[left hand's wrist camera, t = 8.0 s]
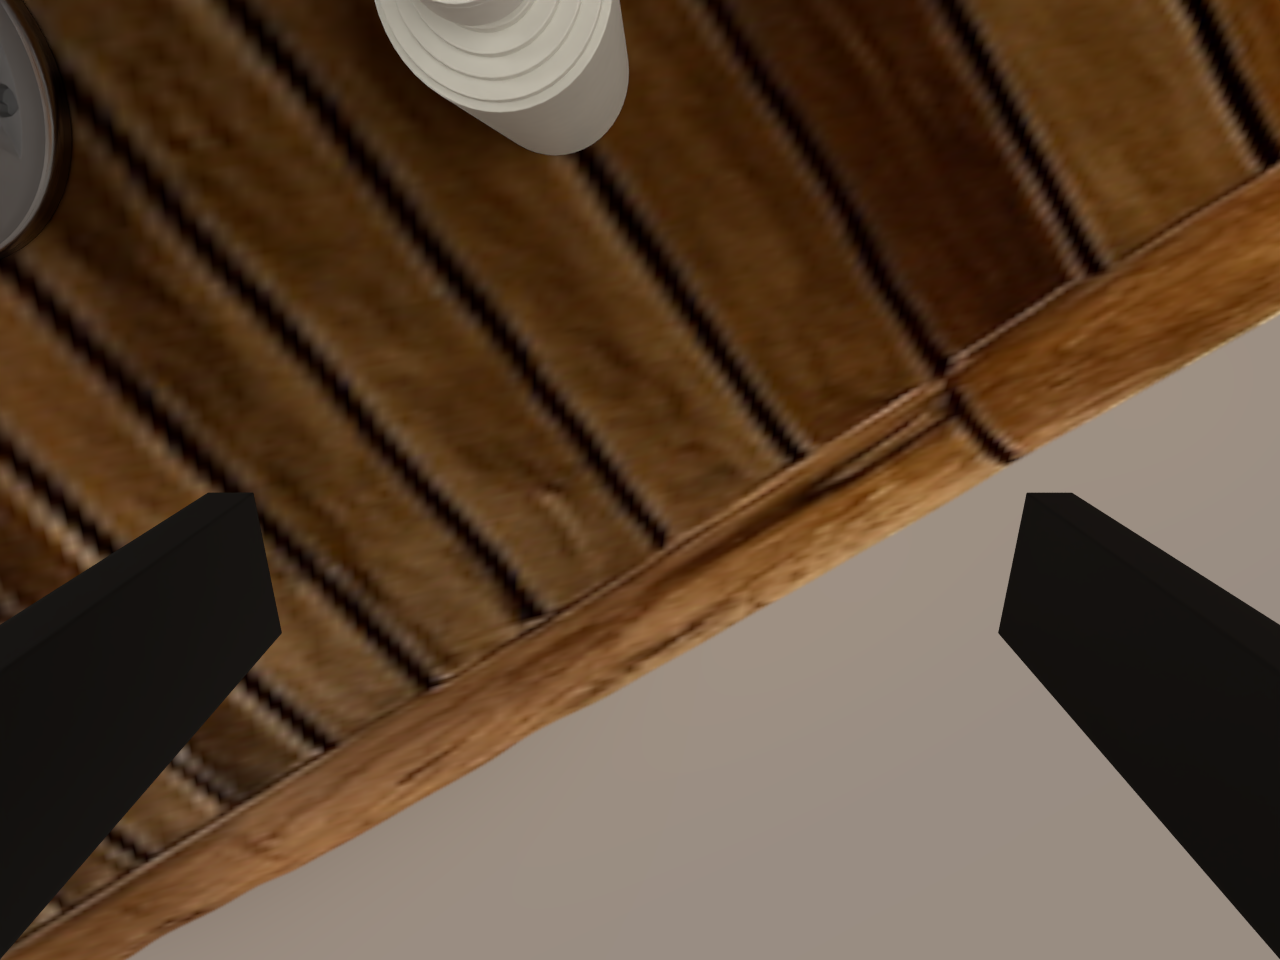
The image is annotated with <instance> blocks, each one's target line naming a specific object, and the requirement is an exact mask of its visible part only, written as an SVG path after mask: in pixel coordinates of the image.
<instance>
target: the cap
mask: <svg viewBox="0 0 1280 960" xmlns="http://www.w3.org/2000/svg"><path fill="white" fill-rule="evenodd" d="M420 1H421V2H422V3H423V4H424V5H425V6H426V7H427V8H428V9H430V10H431V11H432V12H434V13H435V14H436V15H438V16H440V17H442V18H444V19H446V20H448V21H451V22H454V23H457V24H462V25H471V26H476V25H485V24H489V23H493V22H495V21H498V20H500V19H502V18H504V17H506V16H507V15H509V14H510V13H511V12H513V11H514V10H515V9H516V8H517V7H518V6H519V5H520V4H521V3H522V2H523V1H524V0H420Z"/></svg>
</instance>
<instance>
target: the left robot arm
mask: <svg viewBox="0 0 1280 960" xmlns="http://www.w3.org/2000/svg"><path fill="white" fill-rule="evenodd" d="M71 148H72V141H71V123H70V114H69V108H68V103H67V98H66V93H65V90H64V86H63V83H62V79H61V76H60V73H59V70H58V68H57V65H56V62H55V60H54V57H53V55H52V52H51V50H50V48H49V46H48V44H47V42H46V40H45V37H44V36H43V34H42V32H41V30H40V28H39V27H38V25H37V23H36V21H35V20H34V18H33V16H32V15H31V13H30V12H29V10H28V9H27V7H26V6H25V4H24V3H23V1H22V0H0V259H2V258H4V257H6V256H9V255H11V254H13V253H14V252H16V251H18V250H19V249H21V248H23V247H24V246H25V245H27V244H28V243H29V242H30V241H32V240H33V239H34V238H35V237H36V236H37V235H38V234H39V233H40V232H41V231H42V230H43V228H44V227H45V226H46V224H47V223H48V222H49V220H50V219H51V217H52V216H53V214H54V212H55V210H56V209H57V207H58V205H59V202H60V200H61V198H62V195H63V193H64V189H65V186H66V182H67V179H68V174H69V168H70V162H71ZM281 633H282V632H281V627H280V622H279V617H278V612H277V607H276V602H275V597H274V592H273V588H272V583H271V578H270V573H269V568H268V563H267V558H266V553H265V548H264V543H263V538H262V533H261V528H260V524H259V519H258V514H257V509H256V504H255V499H254V494H253V493H207V494H205V495H204V496H202V497H201V498H199V499H198V500H196V501H194V502H193V503H191V504H190V505H188V506H187V507H185V508H183V509H182V510H180V511H179V512H177V513H176V514H174V515H172V516H171V517H169V518H168V519H166V520H164V521H163V522H161V523H160V524H158V525H157V526H155V527H153V528H152V529H150V530H149V531H147V532H146V533H144V534H142V535H141V536H139V537H138V538H136V539H135V540H133V541H131V542H130V543H128V544H127V545H125V546H124V547H122V548H120V549H119V550H117V551H116V552H114V553H113V554H111V555H109V556H108V557H106V558H105V559H103V560H102V561H100V562H98V563H97V564H95V565H94V566H92V567H91V568H89V569H87V570H86V571H84V572H83V573H81V574H80V575H78V576H76V577H75V578H73V579H72V580H70V581H69V582H67V583H65V584H64V585H62V586H61V587H59V588H58V589H56V590H54V591H53V592H51V593H50V594H48V595H47V596H45V597H43V598H42V599H40V600H39V601H37V602H36V603H34V604H32V605H31V606H29V607H28V608H26V609H25V610H23V611H21V612H20V613H18V614H17V615H15V616H14V617H12V618H10V619H9V620H7V621H6V622H4V623H2V624H1V625H0V959H1V957H2V956H3V955H4V954H5V953H6V952H7V951H8V949H9V948H10V947H11V946H12V945H13V944H14V942H15V941H16V940H17V939H18V938H19V937H20V935H21V934H22V933H23V932H24V931H25V930H26V929H27V927H28V926H29V925H30V924H31V923H32V922H33V920H34V919H35V918H36V917H37V916H38V915H39V913H40V912H41V911H42V910H43V909H44V908H45V907H46V905H47V904H48V903H49V902H50V901H51V900H52V898H53V897H54V896H55V895H56V894H57V893H58V891H59V890H60V889H61V888H62V887H63V886H64V885H65V883H66V882H67V881H68V880H69V879H70V878H71V876H72V875H73V874H74V873H75V872H76V871H77V869H78V868H79V867H80V866H81V865H82V864H83V863H84V861H85V860H86V859H87V858H88V857H89V856H90V854H91V853H92V852H93V851H94V850H95V849H96V847H97V846H98V845H99V844H100V843H101V842H102V841H103V839H104V838H105V837H106V836H107V835H108V834H109V832H110V831H111V830H112V829H113V828H114V827H115V825H116V824H117V823H118V822H119V821H120V820H121V819H122V817H123V816H124V815H125V814H126V813H127V812H128V810H129V809H130V808H131V807H132V806H133V805H134V803H135V802H136V801H137V800H138V799H139V798H140V797H141V795H142V794H143V793H144V792H145V791H146V790H147V788H148V787H149V786H150V785H151V784H152V783H153V781H154V780H155V779H156V778H157V777H158V776H159V775H160V773H161V772H162V771H163V770H164V769H165V768H166V766H167V765H168V764H169V763H170V762H171V761H172V759H173V758H174V757H175V756H176V755H177V754H178V753H179V751H180V750H181V749H182V748H183V747H184V746H185V744H186V743H187V742H188V741H189V740H190V739H191V737H192V736H193V735H194V734H195V733H196V732H197V731H198V729H199V728H200V727H201V726H202V725H203V724H204V722H205V721H206V720H207V719H208V718H209V717H210V715H211V714H212V713H213V712H214V711H215V710H216V709H217V707H218V706H219V705H220V704H221V703H222V702H223V700H224V699H225V698H226V697H227V696H228V695H229V693H230V692H231V691H232V690H233V689H234V688H235V687H236V685H237V684H238V683H239V682H240V681H241V680H242V678H243V677H244V676H245V675H246V674H247V673H248V671H249V670H250V669H251V668H252V667H253V666H254V665H255V663H256V662H257V661H258V660H259V659H260V658H261V656H262V655H263V654H264V653H265V652H266V651H267V649H268V648H269V647H270V646H271V645H272V644H273V643H274V641H275V640H276V639H277V638H278V637H279V636H280V634H281ZM998 633H999V634H1000V636H1001V637H1002V638H1003V639H1004V640H1005V641H1006V643H1007V644H1008V645H1009V646H1010V647H1011V648H1012V649H1013V651H1014V652H1015V653H1016V654H1017V655H1018V656H1019V658H1020V659H1021V660H1022V661H1023V662H1024V663H1025V665H1026V666H1027V667H1028V668H1029V669H1030V670H1031V671H1032V673H1033V674H1034V675H1035V676H1036V677H1037V678H1038V680H1039V681H1040V682H1041V683H1042V684H1043V685H1044V687H1045V688H1046V689H1047V690H1048V691H1049V692H1050V693H1051V695H1052V696H1053V697H1054V698H1055V699H1056V700H1057V702H1058V703H1059V704H1060V705H1061V706H1062V707H1063V708H1064V710H1065V711H1066V712H1067V713H1068V714H1069V715H1070V717H1071V718H1072V719H1073V720H1074V721H1075V722H1076V724H1077V725H1078V726H1079V727H1080V728H1081V729H1082V731H1083V732H1084V733H1085V734H1086V735H1087V736H1088V737H1089V739H1090V740H1091V741H1092V742H1093V743H1094V744H1095V746H1096V747H1097V748H1098V749H1099V750H1100V751H1101V753H1102V754H1103V755H1104V756H1105V757H1106V758H1107V759H1108V761H1109V762H1110V763H1111V764H1112V765H1113V766H1114V768H1115V769H1116V770H1117V771H1118V772H1119V773H1120V774H1121V776H1122V777H1123V778H1124V779H1125V780H1126V781H1127V783H1128V784H1129V785H1130V786H1131V787H1132V788H1133V790H1134V791H1135V792H1136V793H1137V794H1138V795H1139V797H1140V798H1141V799H1142V800H1143V801H1144V802H1145V803H1146V805H1147V806H1148V807H1149V808H1150V809H1151V810H1152V812H1153V813H1154V814H1155V815H1156V816H1157V817H1158V819H1159V820H1160V821H1161V822H1162V823H1163V824H1164V825H1165V827H1166V828H1167V829H1168V830H1169V831H1170V832H1171V834H1172V835H1173V836H1174V837H1175V838H1176V839H1177V841H1178V842H1179V843H1180V844H1181V845H1182V846H1183V847H1184V849H1185V850H1186V851H1187V852H1188V853H1189V854H1190V856H1191V857H1192V858H1193V859H1194V860H1195V861H1196V863H1197V864H1198V865H1199V866H1200V867H1201V868H1202V869H1203V871H1204V872H1205V873H1206V874H1207V875H1208V876H1209V878H1210V879H1211V880H1212V881H1213V882H1214V883H1215V885H1216V886H1217V887H1218V888H1219V889H1220V890H1221V891H1222V893H1223V894H1224V895H1225V896H1226V897H1227V898H1228V900H1229V901H1230V902H1231V903H1232V904H1233V905H1234V906H1235V908H1236V909H1237V910H1238V911H1239V912H1240V914H1241V915H1242V916H1243V917H1244V918H1245V919H1246V920H1247V922H1248V923H1249V924H1250V925H1251V926H1252V927H1253V929H1254V930H1255V931H1256V932H1257V933H1258V934H1259V935H1260V937H1261V938H1262V939H1263V940H1264V941H1265V942H1266V944H1267V945H1268V946H1269V947H1270V948H1271V949H1272V950H1273V952H1274V953H1275V954H1276V955H1277V956H1278V958H1279V959H1280V625H1279V624H1277V623H1276V622H1274V621H1273V620H1271V619H1270V618H1268V617H1266V616H1265V615H1263V614H1262V613H1260V612H1259V611H1257V610H1255V609H1254V608H1252V607H1251V606H1249V605H1248V604H1246V603H1244V602H1243V601H1241V600H1240V599H1238V598H1237V597H1235V596H1233V595H1232V594H1230V593H1229V592H1227V591H1226V590H1224V589H1222V588H1221V587H1219V586H1218V585H1216V584H1215V583H1213V582H1211V581H1210V580H1208V579H1207V578H1205V577H1204V576H1202V575H1200V574H1199V573H1197V572H1196V571H1194V570H1193V569H1191V568H1189V567H1188V566H1186V565H1185V564H1183V563H1181V562H1180V561H1178V560H1177V559H1175V558H1174V557H1172V556H1170V555H1169V554H1167V553H1166V552H1164V551H1163V550H1161V549H1160V548H1158V547H1156V546H1155V545H1153V544H1152V543H1150V542H1149V541H1147V540H1145V539H1144V538H1142V537H1141V536H1139V535H1138V534H1136V533H1134V532H1133V531H1131V530H1130V529H1128V528H1127V527H1125V526H1123V525H1122V524H1120V523H1119V522H1117V521H1116V520H1114V519H1112V518H1111V517H1109V516H1108V515H1106V514H1104V513H1103V512H1101V511H1100V510H1098V509H1097V508H1095V507H1093V506H1092V505H1090V504H1089V503H1087V502H1086V501H1084V500H1082V499H1081V498H1079V497H1078V496H1076V495H1075V494H1073V493H1027V494H1026V499H1025V504H1024V509H1023V514H1022V519H1021V524H1020V528H1019V533H1018V538H1017V543H1016V548H1015V553H1014V558H1013V563H1012V568H1011V573H1010V578H1009V583H1008V587H1007V592H1006V598H1005V602H1004V607H1003V612H1002V617H1001V622H1000V627H999V632H998Z"/></svg>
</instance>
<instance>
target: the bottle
mask: <svg viewBox="0 0 1280 960" xmlns="http://www.w3.org/2000/svg"><path fill="white" fill-rule="evenodd" d="M375 4H376V7H377V11H378V14H379V17H380V19H381V22H382V24H383V27H384V29H385V32H386V34H387V36H388V37H389V39H390V41H391V43H392V45H393V47H394V48H395V50H396V51H397V53H398V54H399V56H400V57H401V59H402V60H403V61H404V63H405V64H406V65H407V66H408V67H409V68H410V70H411V71H412V72H413V73H414V74H415V75H416V76H417V77H418V78H419V79H420V80H421V81H422V82H423V83H425V84H426V85H427V86H428V87H429V88H431V89H432V90H434V91H435V92H436V93H438V94H439V95H441V96H442V97H444V98H445V99H447V100H449V101H450V102H452V103H453V104H455V105H457V106H458V107H460V108H461V109H463V110H464V111H466V112H468V113H469V114H471V115H472V116H474V117H475V118H477V119H479V120H480V121H482V122H483V123H485V124H487V125H488V126H490V127H491V128H493V129H494V130H496V131H498V132H499V133H501V134H502V135H504V136H506V137H507V138H509V139H510V140H512V141H513V142H515V143H517V144H518V145H520V146H522V147H524V148H526V149H528V150H531V151H533V152H536V153H541V154H545V155H566V154H570V153H575V152H577V151H580V150H582V149H585V148H586V147H588V146H590V145H592V144H593V143H595V142H596V141H597V140H599V139H600V138H601V137H602V136H603V135H604V134H605V133H606V132H607V131H608V130H609V128H610V127H611V126H612V125H613V123H614V122H615V120H616V118H617V117H618V115H619V113H620V111H621V108H622V106H623V103H624V100H625V97H626V93H627V87H628V78H629V66H628V56H627V49H626V42H625V35H624V28H623V22H622V15H621V8H620V1H619V0H524V1H523V2H522V3H521V4H520V5H519V6H518V7H517V8H516V9H515V10H514V11H513V12H511V13H510V14H509V15H507V16H506V17H504V18H502V19H500V20H498V21H495V22H493V23H489V24H485V25H476V26H471V25H462V24H457V23H454V22H451V21H448V20H446V19H444V18H442V17H440V16H438V15H436V14H435V13H434V12H432V11H431V10H430V9H428V8H427V7H426V6H425V5H424V4H423V3H422V2H421V1H420V0H375Z"/></svg>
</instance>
